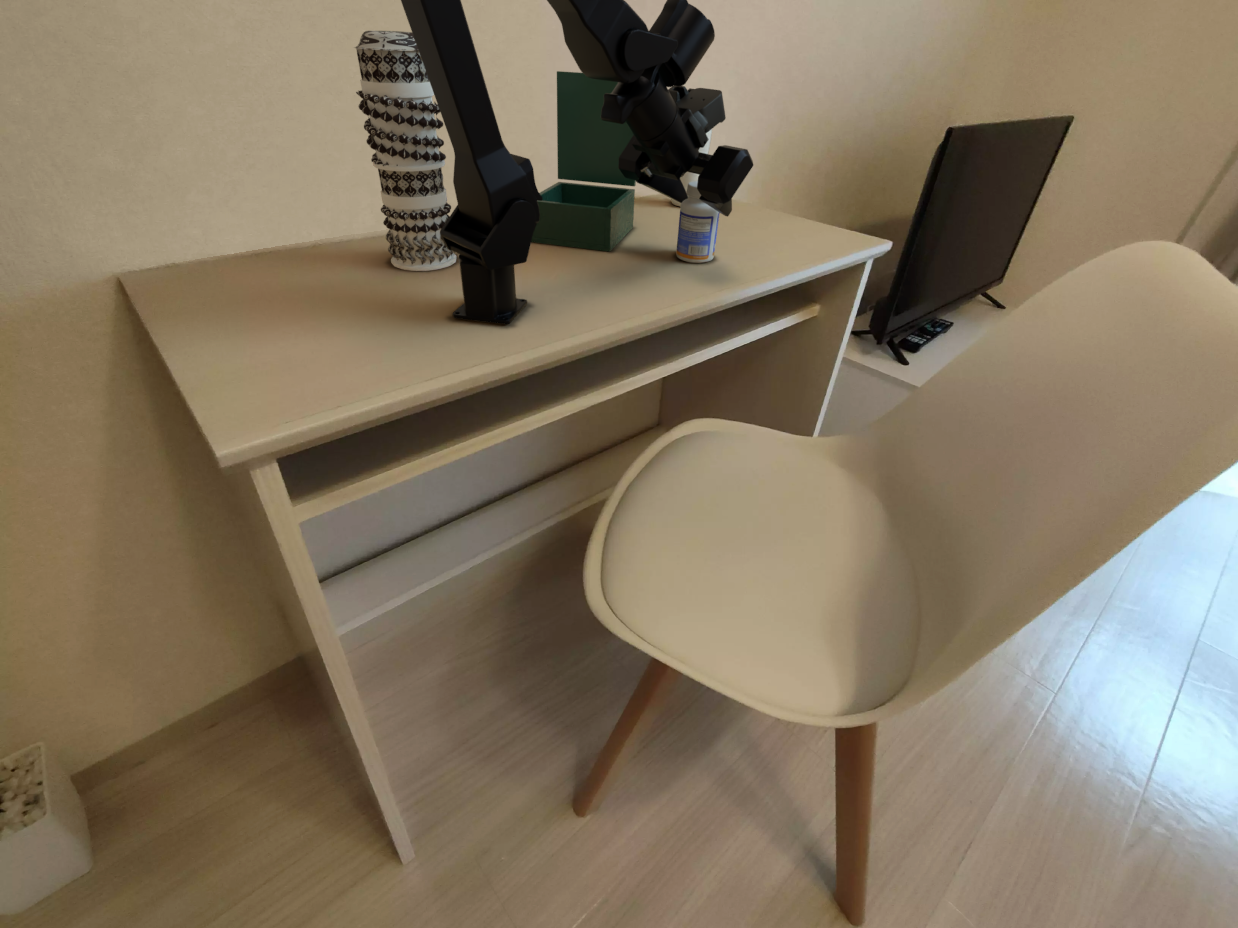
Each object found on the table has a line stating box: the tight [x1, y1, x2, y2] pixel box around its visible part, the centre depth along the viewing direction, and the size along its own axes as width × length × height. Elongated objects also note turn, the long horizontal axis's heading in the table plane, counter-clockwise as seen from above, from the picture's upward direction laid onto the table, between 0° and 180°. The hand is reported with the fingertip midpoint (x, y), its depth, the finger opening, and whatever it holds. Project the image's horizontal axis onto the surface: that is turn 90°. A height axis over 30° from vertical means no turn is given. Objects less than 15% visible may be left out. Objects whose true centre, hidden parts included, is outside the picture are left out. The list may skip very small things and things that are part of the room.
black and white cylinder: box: [353, 30, 458, 272], centre depth 74 cm, size 9×9×25 cm
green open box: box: [531, 181, 636, 252], centre depth 92 cm, size 14×13×6 cm
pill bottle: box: [675, 181, 720, 264], centre depth 84 cm, size 5×5×10 cm
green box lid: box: [556, 70, 637, 187], centre depth 93 cm, size 14×13×4 cm
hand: (706, 207), depth 84 cm, fingers open, 8 cm apart
